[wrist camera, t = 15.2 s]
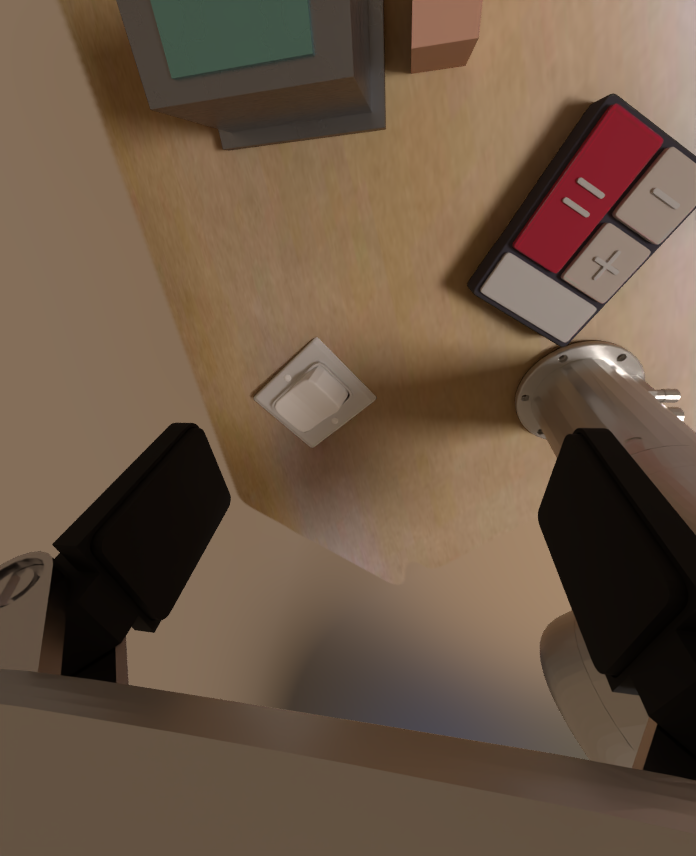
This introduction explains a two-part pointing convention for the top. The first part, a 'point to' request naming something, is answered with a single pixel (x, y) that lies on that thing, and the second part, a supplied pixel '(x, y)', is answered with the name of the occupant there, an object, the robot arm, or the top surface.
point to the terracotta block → (443, 33)
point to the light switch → (314, 394)
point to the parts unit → (262, 65)
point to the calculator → (589, 221)
